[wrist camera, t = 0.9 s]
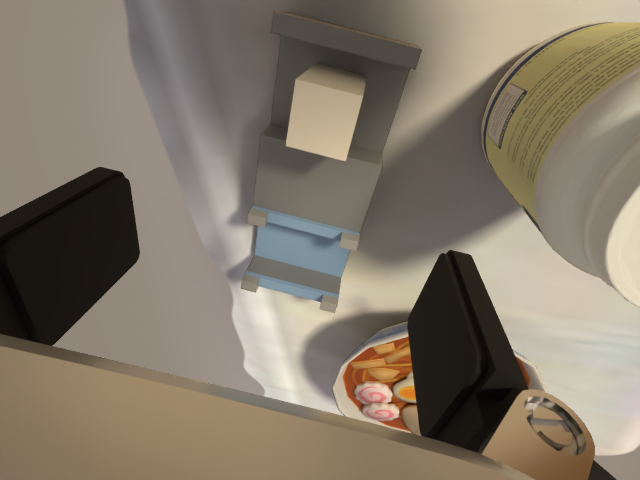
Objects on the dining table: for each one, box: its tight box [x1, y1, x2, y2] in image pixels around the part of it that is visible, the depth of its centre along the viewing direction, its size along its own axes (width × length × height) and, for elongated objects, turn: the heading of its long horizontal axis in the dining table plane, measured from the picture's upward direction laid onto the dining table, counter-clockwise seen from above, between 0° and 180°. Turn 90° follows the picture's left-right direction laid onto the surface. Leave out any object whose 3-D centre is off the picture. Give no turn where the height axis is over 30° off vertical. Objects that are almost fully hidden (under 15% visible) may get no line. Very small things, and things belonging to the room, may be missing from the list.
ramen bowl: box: [332, 321, 548, 436], centre depth 40 cm, size 25×23×8 cm
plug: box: [286, 63, 367, 161], centre depth 23 cm, size 4×4×8 cm
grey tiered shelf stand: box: [241, 11, 422, 313], centre depth 29 cm, size 24×10×6 cm, turn 168°
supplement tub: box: [481, 21, 640, 308], centre depth 19 cm, size 12×12×17 cm
